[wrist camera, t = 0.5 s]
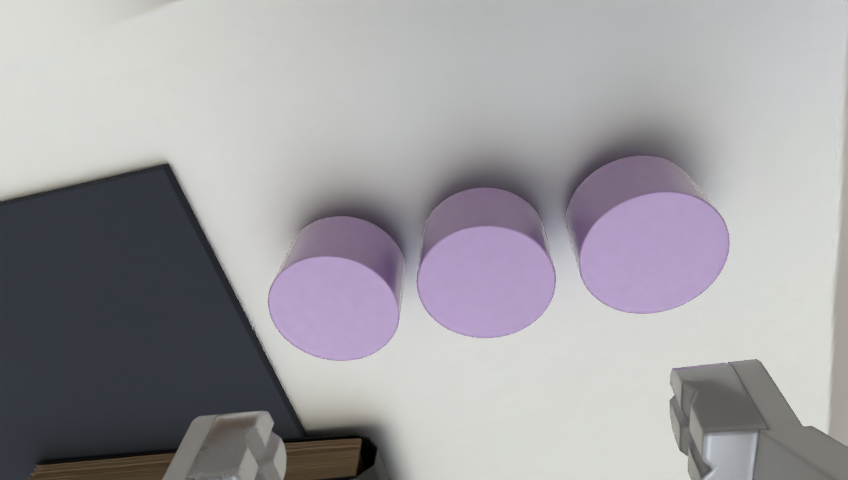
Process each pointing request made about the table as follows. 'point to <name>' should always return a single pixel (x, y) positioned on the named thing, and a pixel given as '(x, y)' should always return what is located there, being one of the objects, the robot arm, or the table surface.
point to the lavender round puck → (645, 235)
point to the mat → (118, 326)
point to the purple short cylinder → (339, 289)
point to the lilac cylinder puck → (485, 264)
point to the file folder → (305, 476)
